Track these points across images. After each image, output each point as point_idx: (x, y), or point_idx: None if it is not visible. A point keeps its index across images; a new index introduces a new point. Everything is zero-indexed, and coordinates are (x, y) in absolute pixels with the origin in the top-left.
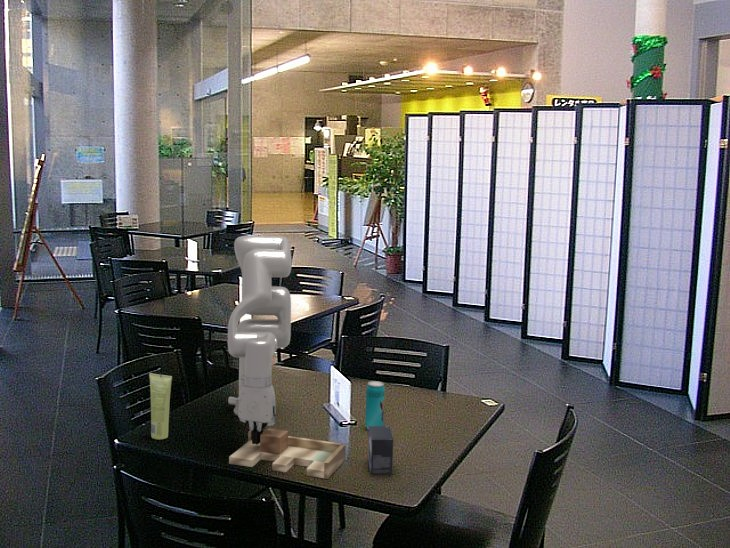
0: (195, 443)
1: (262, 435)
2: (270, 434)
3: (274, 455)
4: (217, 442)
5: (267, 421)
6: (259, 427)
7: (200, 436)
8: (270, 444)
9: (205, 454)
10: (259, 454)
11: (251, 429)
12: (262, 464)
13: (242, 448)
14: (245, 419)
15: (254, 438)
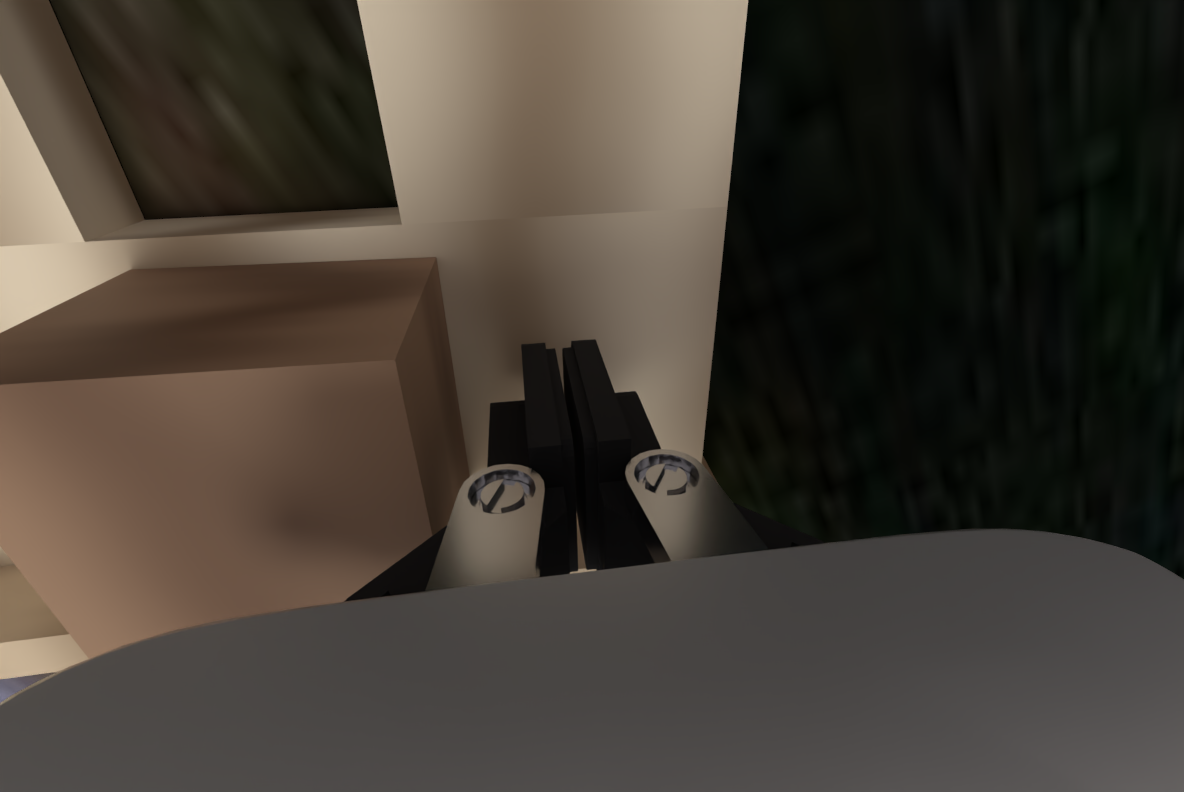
0: (1156, 310)
1: (348, 359)
2: (230, 456)
3: (193, 234)
4: (969, 407)
5: (14, 696)
6: (490, 522)
7: (1110, 448)
8: (224, 307)
9: (1059, 78)
10: (392, 168)
11: (663, 467)
12: (297, 55)
13: (690, 257)
14: (903, 542)
15: (571, 379)
